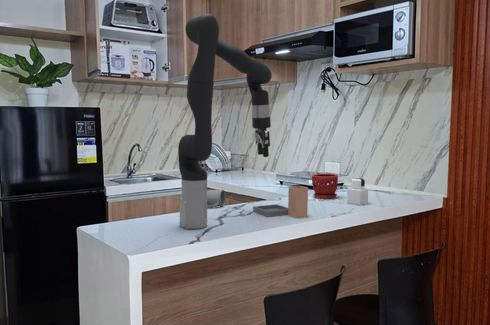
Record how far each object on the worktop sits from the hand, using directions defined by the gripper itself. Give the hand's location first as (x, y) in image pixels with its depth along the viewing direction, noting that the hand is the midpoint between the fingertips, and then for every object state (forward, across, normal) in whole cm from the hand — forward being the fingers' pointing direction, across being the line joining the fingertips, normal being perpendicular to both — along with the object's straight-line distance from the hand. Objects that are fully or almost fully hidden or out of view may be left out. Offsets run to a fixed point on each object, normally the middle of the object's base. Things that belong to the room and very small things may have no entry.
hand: (263, 155), depth 177 cm
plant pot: (+29, -31, +39) cm, 58 cm away
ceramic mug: (+24, -18, -20) cm, 36 cm away
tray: (+25, +1, +2) cm, 25 cm away
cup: (+25, +9, +11) cm, 29 cm away
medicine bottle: (+29, -13, +48) cm, 58 cm away
